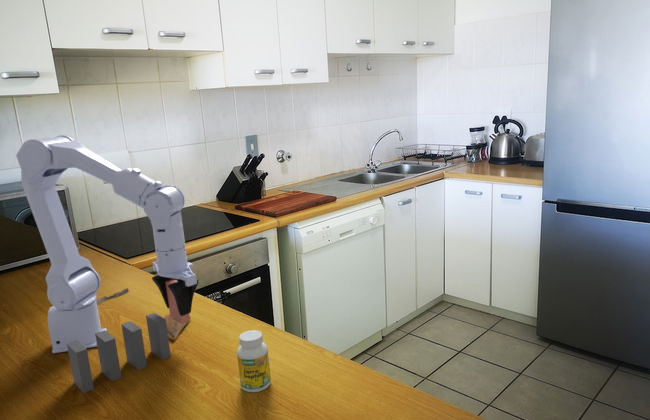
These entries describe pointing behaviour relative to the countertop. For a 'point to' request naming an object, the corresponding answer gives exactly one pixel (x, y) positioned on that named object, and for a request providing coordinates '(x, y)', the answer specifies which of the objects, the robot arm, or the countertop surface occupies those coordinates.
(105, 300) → the grey brown bark strip
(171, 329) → the shard
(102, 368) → the domino
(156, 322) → the domino
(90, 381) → the domino
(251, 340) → the supplement bottle
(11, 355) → the countertop surface
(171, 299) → the red domino
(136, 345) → the domino
